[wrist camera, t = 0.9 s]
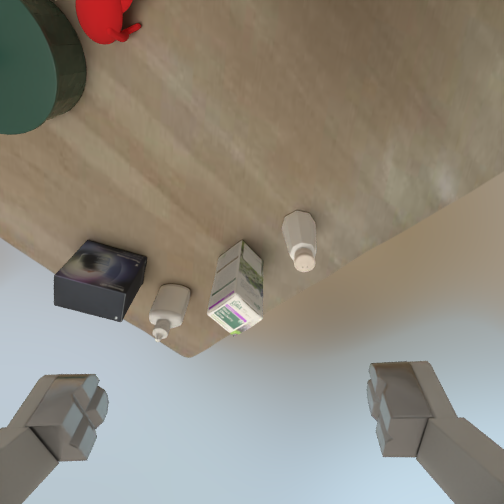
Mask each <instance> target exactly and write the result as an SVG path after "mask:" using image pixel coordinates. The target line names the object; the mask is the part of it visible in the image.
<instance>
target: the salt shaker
mask: <svg viewBox="0 0 504 504" xmlns="http://www.w3.org/2000/svg"><path fill="white" fill-rule="evenodd" d="M282 231H283V235H284V238H285V241H286V245H287V248H288V252H289V254H290V256H291V258H292V259H293V261H294V266H295V268H296V269H297V270H298V271H301V272H308V271H310V270H312V269H313V268H314V266H315V259H314V257H315V255H316V252H317V245H316V223H315V221H314V220H313V218H312V216H311V215H310V213H306V212H302V211H297V210H296V211H295V212H293V213H291V214H289V215H287V216H285V218H284V222H283V225H282Z"/></svg>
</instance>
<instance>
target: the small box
mask: <svg viewBox="0 0 504 504" xmlns="http://www.w3.org/2000/svg"><path fill="white" fill-rule="evenodd" d="M146 263H147V257H145V256H141V255H137V254H134V253H130V252H127V251H123V250H120V249H117V248H113V247H110V246H106V245H103V244H99V243H96V242H92V241H89V240H87V241H86V242H85V243H84V244H83V245H82V246H81V248H80V249H79V250H78V251H77V252H76V253H75V254H74V255H73V256H72V257H71V258H70V259H69V260H68V262H67V263H66V264H65V265H64V266H63V267H62V268H61V269H60V270H59V271H58V272H57V273H56V274H55V275H54V305H55V306H60V307H63V308H67V309H72V310H75V311H80V312H83V313H87V314H91V315H95V316H99V317H102V318H107V319H110V320H114V321H118V322H122V320H123V318H124V316H125V314H126V312H127V310H128V308H129V307H130V305H131V303H132V301H133V299H134V298H135V296H136V294H137V292H138V290H139V288H140V286H141V285H142V284H143V280H144V279H143V278H144V272H145V267H146Z"/></svg>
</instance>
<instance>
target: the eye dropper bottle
mask: <svg viewBox="0 0 504 504" xmlns="http://www.w3.org/2000/svg"><path fill="white" fill-rule="evenodd" d="M189 299H190V289H188V288H187V287H184V286H181V285H177V284H166V285H162V286H161V287H160V289H159V291H158V293H157V296H156V298H155V300H154V303H153V305H152V307H151V310H150V313H149V320H150V322H151V323H152V324H154V325H155V327H154V329H153V335H154V336H155V337H156V339H155V340H156V342H160V340H161V339H164V338H166V337H167V336H168V333H169V330H170V328H174V327H178V326H180V325H181V324H182V322H183V319H184V316H185V313H186V309H187V306H188V303H189Z"/></svg>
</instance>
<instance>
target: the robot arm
mask: <svg viewBox="0 0 504 504" xmlns="http://www.w3.org/2000/svg"><path fill="white" fill-rule="evenodd" d="M369 374H370V377H371V379H370V380H369V381H368V383H367V398H368V404H369V408H370V412H371V416H372V417H373V418H374V419H375V420H376V421H377V427H376V434H377V438H378V441H379V445H380V448H381V452H382V455H383V457H417V458H416V459H417V461H418V462H419V463H420V464H421V465H422V466H423V468H424V469H425V470H426V471H427V472H428V473H429V475H430V476H431V477H432V478H433V479H434V480H435V481H436V483H437V484H438V485H439V486H440V487H441V488H442V489H443V491H444V492H445V493H446V494H447V495H448V496H449V497H450V499H451V500H452V501H453V502H454V503H455V504H504V449H502V448H501V447H500V446H499V445H497V444H496V443H495V442H494V441H492V440H491V439H490V438H489V437H487V436H486V435H485V434H484V433H483V432H481V431H480V430H479V429H478V428H476V427H475V426H474V425H473V424H471V423H470V422H469V421H467V420H466V419H465V418H458V417H457V415H456V413H455V411H454V409H453V407H452V405H451V403H450V401H449V399H448V397H447V395H446V394H445V391H444V389H443V387H442V386H441V384H440V382H439V380H438V378H437V376H436V374H435V372H434V370H433V368H432V366H431V364H430V363H428V361H416V362H406V361H405V362H384V363H371V364H370V367H369ZM98 383H99V379H98V377H97V376H96V374H58V375H44V376H43V377H42V378H40V379H39V380H38V382H37V383H36V385H35V386H34V388H33V389H32V391H31V392H30V394H29V395H28V397H27V398H26V399H25V401H24V402H23V404H22V405H21V407H20V408H19V410H18V411H17V413H16V414H15V416H14V417H13V419H12V420H11V422H10V423H9V425H8V426H7V427H5V428H1V429H0V504H22V503H23V502H24V501H25V499H26V498H27V497H28V496H29V495H30V494H31V493H32V492H33V491H34V490H35V489H36V488H37V487H38V485H39V484H40V483H41V482H42V481H43V480H44V479H45V478H46V477H47V476H48V474H50V472H51V471H52V470H53V469H54V468H55V467H56V466H57V465H58V464H59V461H81V460H82V461H83V460H87V459H88V456H89V454H90V452H91V449H92V447H93V445H94V442H95V440H96V438H97V435H96V431H95V429H96V428H97V427H98V426H99V425H100V424H102V423H103V421H104V419H105V417H106V414H107V410H108V403H109V401H108V395H107V393H106V391H105V390H104V389H102V388H100V387H99V386H97V385H98Z"/></svg>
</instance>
